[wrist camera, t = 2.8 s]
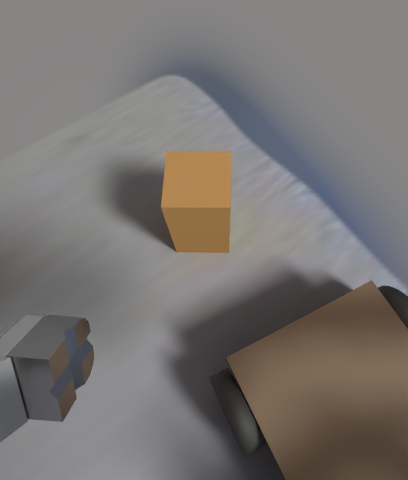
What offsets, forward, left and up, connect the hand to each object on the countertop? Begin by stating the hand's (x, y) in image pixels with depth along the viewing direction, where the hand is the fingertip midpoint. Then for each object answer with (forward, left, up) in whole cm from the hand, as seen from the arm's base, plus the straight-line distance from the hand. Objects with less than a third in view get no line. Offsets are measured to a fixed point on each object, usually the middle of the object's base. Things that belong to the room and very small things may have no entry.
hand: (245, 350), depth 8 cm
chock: (+12, -3, -18) cm, 22 cm away
